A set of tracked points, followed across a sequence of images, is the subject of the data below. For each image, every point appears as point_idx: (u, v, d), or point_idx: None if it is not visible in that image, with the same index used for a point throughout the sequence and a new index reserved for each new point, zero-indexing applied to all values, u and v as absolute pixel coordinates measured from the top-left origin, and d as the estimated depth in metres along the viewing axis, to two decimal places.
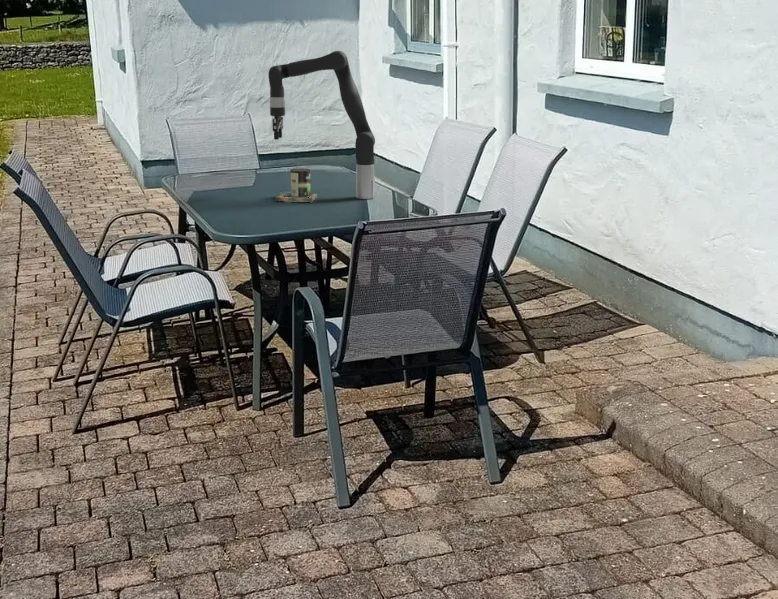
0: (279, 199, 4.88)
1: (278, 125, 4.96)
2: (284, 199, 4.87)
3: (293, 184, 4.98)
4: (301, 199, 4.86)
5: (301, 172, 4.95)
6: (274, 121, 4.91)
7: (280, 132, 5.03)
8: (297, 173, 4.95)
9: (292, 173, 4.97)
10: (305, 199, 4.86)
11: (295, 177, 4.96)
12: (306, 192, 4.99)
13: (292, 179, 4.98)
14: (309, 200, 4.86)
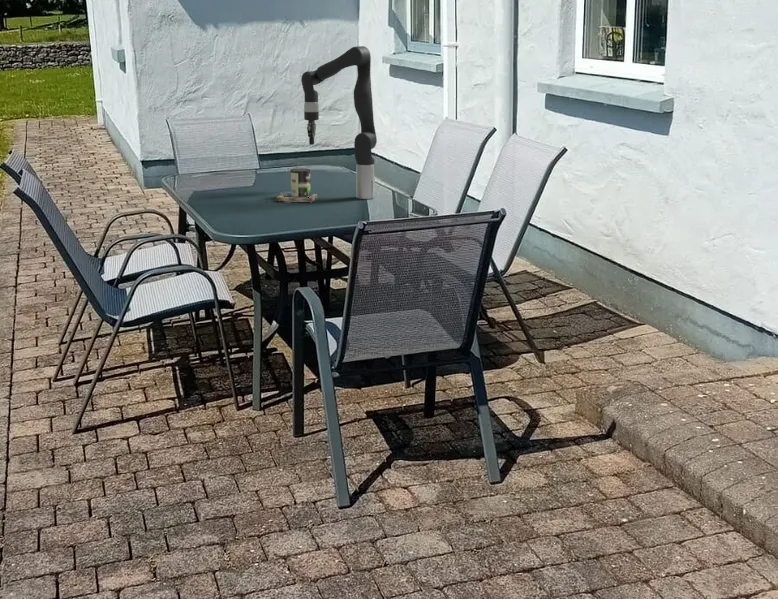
0: (279, 199, 4.88)
1: None
2: (284, 199, 4.87)
3: (293, 184, 4.98)
4: (301, 199, 4.86)
5: (301, 172, 4.95)
6: (309, 129, 5.05)
7: None
8: (297, 173, 4.95)
9: (292, 173, 4.97)
10: (305, 199, 4.86)
11: (295, 177, 4.96)
12: (306, 192, 4.99)
13: (292, 179, 4.98)
14: (309, 200, 4.86)
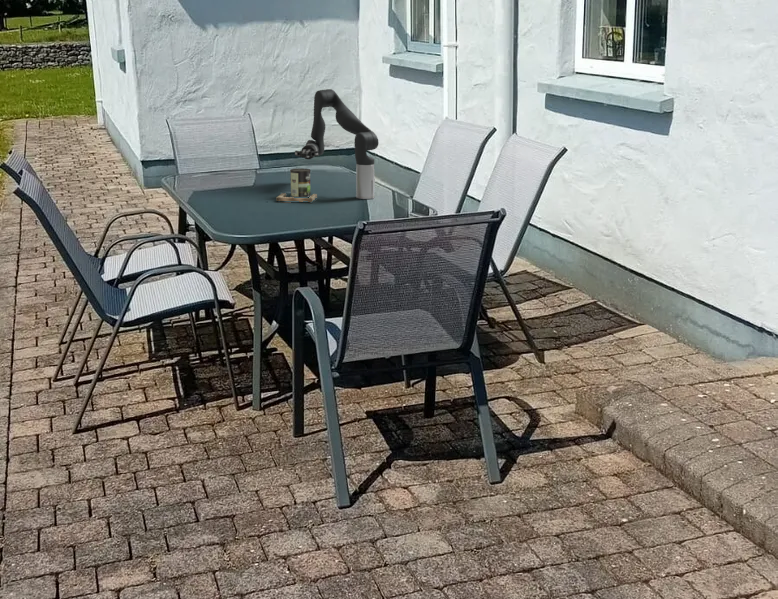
0: (279, 199, 4.88)
1: (305, 152, 5.15)
2: (284, 199, 4.87)
3: (293, 184, 4.98)
4: (301, 199, 4.86)
5: (301, 172, 4.95)
6: (295, 153, 5.16)
7: None
8: (297, 173, 4.95)
9: (292, 173, 4.97)
10: (305, 199, 4.86)
11: (295, 177, 4.96)
12: (306, 192, 4.99)
13: (292, 179, 4.98)
14: (309, 200, 4.86)
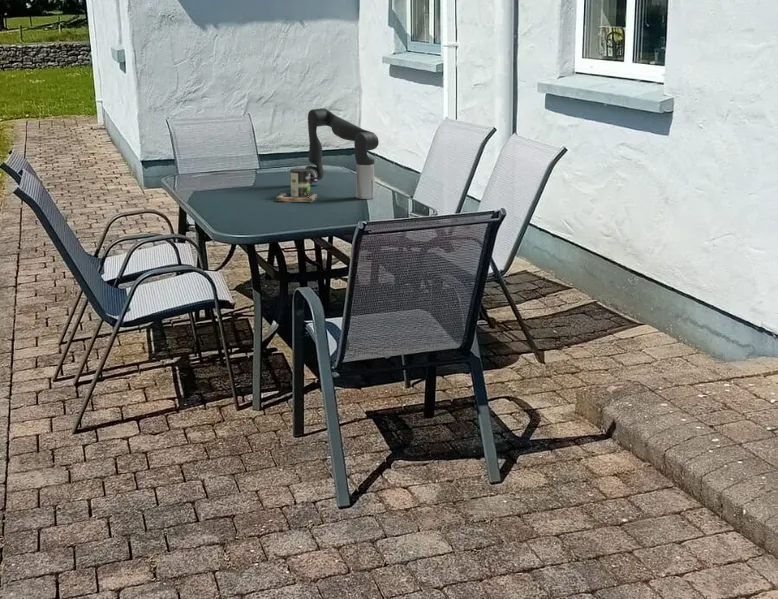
0: (279, 199, 4.88)
1: None
2: (284, 199, 4.87)
3: (293, 184, 4.98)
4: (301, 199, 4.86)
5: (301, 172, 4.95)
6: None
7: None
8: (297, 173, 4.95)
9: (292, 173, 4.97)
10: (305, 199, 4.86)
11: (295, 177, 4.96)
12: (306, 192, 4.99)
13: (292, 179, 4.98)
14: (309, 200, 4.86)
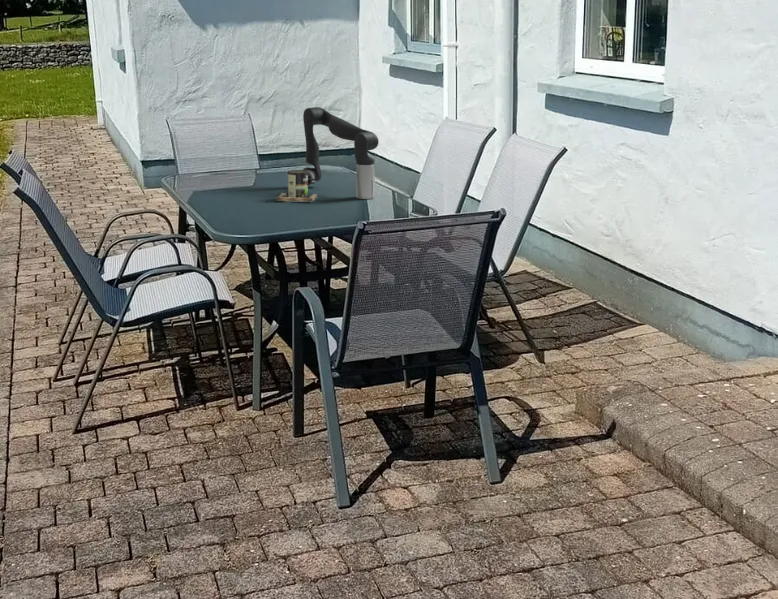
0: (279, 199, 4.88)
1: None
2: (284, 199, 4.87)
3: (290, 186, 4.92)
4: (301, 199, 4.86)
5: (299, 174, 4.89)
6: None
7: None
8: (294, 175, 4.89)
9: (289, 175, 4.91)
10: (305, 199, 4.86)
11: (292, 179, 4.90)
12: (304, 194, 4.93)
13: (289, 181, 4.91)
14: (309, 200, 4.86)
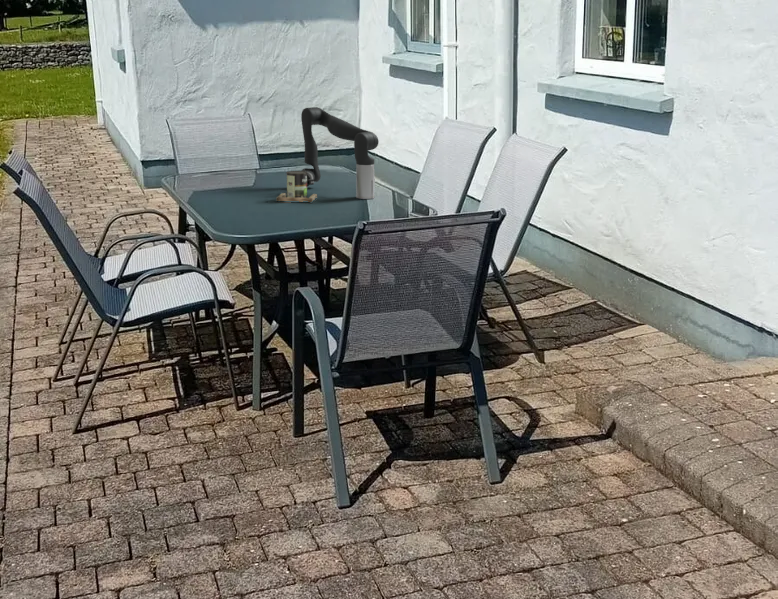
0: (279, 199, 4.88)
1: None
2: (284, 199, 4.87)
3: (289, 187, 4.89)
4: (301, 199, 4.86)
5: (298, 175, 4.86)
6: None
7: None
8: (293, 176, 4.87)
9: (288, 176, 4.88)
10: (305, 199, 4.86)
11: (291, 180, 4.87)
12: (303, 195, 4.90)
13: (288, 182, 4.89)
14: (309, 200, 4.86)
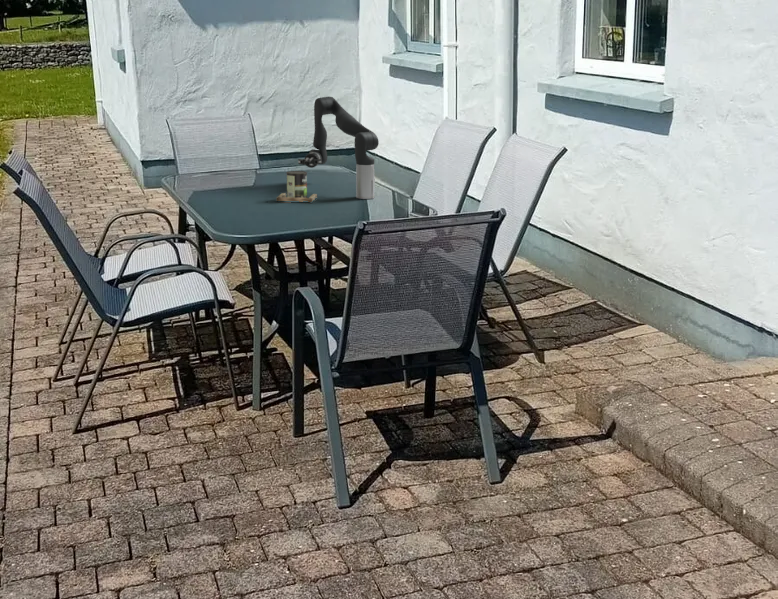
0: (279, 199, 4.88)
1: (308, 160, 5.17)
2: (284, 199, 4.87)
3: (289, 187, 4.89)
4: (301, 199, 4.86)
5: (298, 175, 4.86)
6: (299, 162, 5.18)
7: None
8: (293, 176, 4.86)
9: (288, 176, 4.88)
10: (305, 199, 4.86)
11: (291, 180, 4.87)
12: (303, 195, 4.90)
13: (288, 182, 4.89)
14: (309, 200, 4.86)
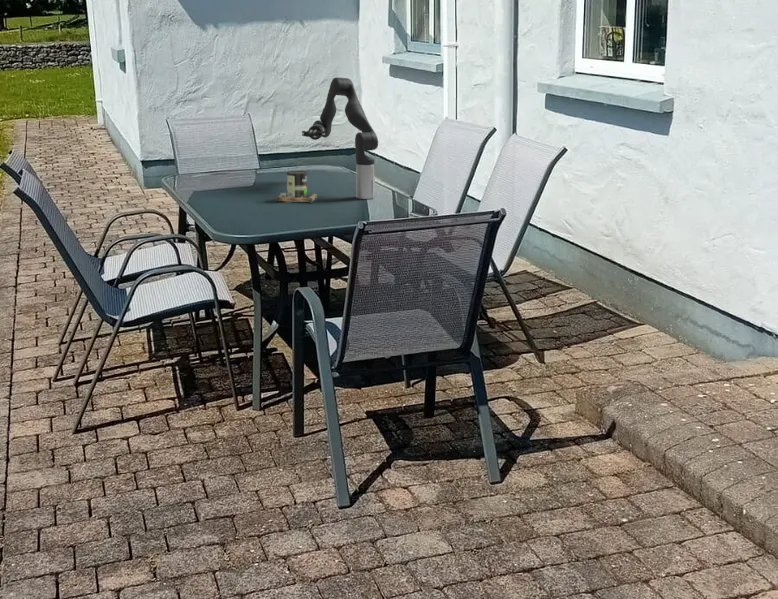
0: (279, 199, 4.88)
1: (312, 132, 5.16)
2: (284, 199, 4.87)
3: (289, 187, 4.89)
4: (301, 199, 4.86)
5: (298, 175, 4.86)
6: (302, 133, 5.17)
7: None
8: (293, 176, 4.86)
9: (288, 176, 4.88)
10: (305, 199, 4.86)
11: (291, 180, 4.87)
12: (303, 195, 4.90)
13: (288, 182, 4.89)
14: (309, 200, 4.86)
